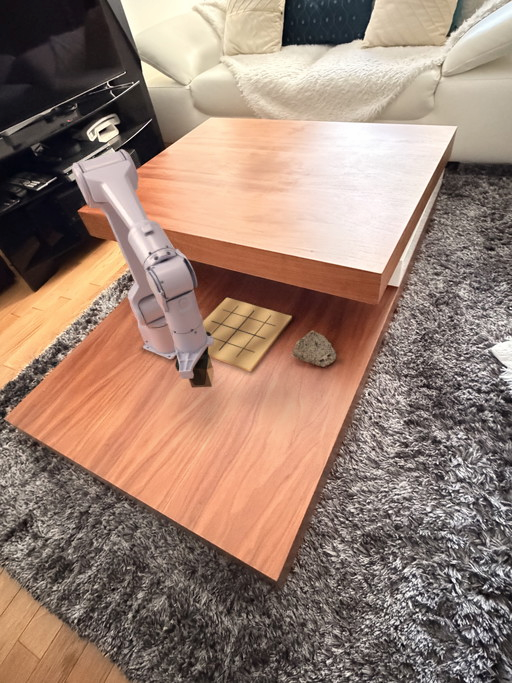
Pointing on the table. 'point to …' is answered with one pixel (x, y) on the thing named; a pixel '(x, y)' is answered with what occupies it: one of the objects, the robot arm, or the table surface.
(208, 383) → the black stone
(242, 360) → the game board
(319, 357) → the rock sample
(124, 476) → the table surface
